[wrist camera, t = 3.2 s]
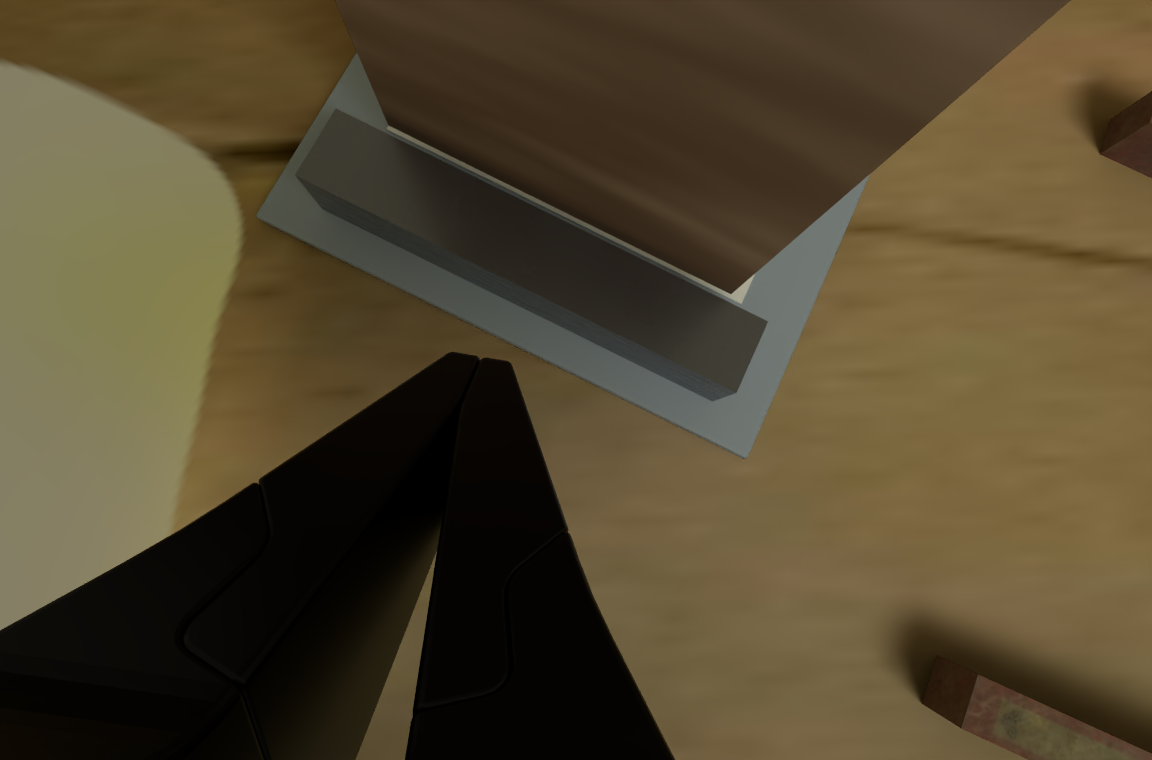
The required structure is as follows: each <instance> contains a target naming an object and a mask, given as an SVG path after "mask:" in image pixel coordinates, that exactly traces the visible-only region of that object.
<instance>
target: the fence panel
mask: <svg viewBox="0 0 1152 760" xmlns="http://www.w3.org/2000/svg"><path fill="white" fill-rule="evenodd" d="M1069 1H1070V0H335V2H336V4H337V7H338V9H339V11H340V14H341V16H342V18H343V21H344V23H345V25H346V28H347V30H348V32H349V35H350V37H351V39H352V42H353V44H354V46H355V49H356V51H357V53H358V56H359V58H360V61H361V63H362V65H363V68H364V70H365V72H366V75H367V77H368V79H369V82H370V84H371V86H372V89H373V91H374V93H375V96H376V98H377V100H378V103H379V105H380V107H381V110H382V112H383V114H384V117H385V119H386V121H387V124H388V126H391V127H393V128H395V129H397V130H399V131H401V132H403V133H405V134H407V135H409V136H411V137H413V138H415V139H417V140H419V141H421V142H423V143H425V144H427V145H429V146H431V147H433V148H435V149H437V150H439V151H441V152H443V153H445V154H447V155H449V156H451V157H453V158H455V159H457V160H459V161H462V162H464V163H466V164H468V165H470V166H472V167H474V168H476V169H478V170H480V171H482V172H484V173H486V174H488V175H490V176H492V177H494V178H496V179H498V180H500V181H502V182H504V183H506V184H508V185H510V186H512V187H514V188H516V189H518V190H520V191H522V192H524V193H526V194H528V195H530V196H533V197H535V198H537V199H539V200H541V201H543V202H545V203H547V204H549V205H551V206H553V207H555V208H557V209H559V210H561V211H563V212H565V213H567V214H569V215H571V216H573V217H575V218H577V219H579V220H581V221H583V222H585V223H587V224H589V225H591V226H593V227H595V228H597V229H599V230H601V231H603V232H606V233H608V234H610V235H612V236H614V237H616V238H618V239H620V240H622V241H624V242H626V243H628V244H630V245H632V246H634V247H636V248H638V249H640V250H642V251H644V252H646V253H648V254H650V255H652V256H654V257H656V258H658V259H660V260H662V261H664V262H666V263H668V264H670V265H672V266H674V267H677V268H679V269H681V270H683V271H685V272H687V273H689V274H691V275H693V276H695V277H697V278H699V279H701V280H703V281H705V282H707V283H709V284H711V285H713V286H715V287H717V288H719V289H721V290H723V291H725V292H727V293H729V294H732V293H733V292H734V291H736V290H737V289H738V288H739V287H740V286H741V285H742V284H744V283H745V282H746V281H747V280H748V279H749V278H751V277H752V276H753V275H754V274H755V273H756V272H757V271H759V270H760V269H761V268H762V267H763V266H764V265H766V264H767V263H768V262H769V261H770V260H771V259H772V258H774V257H775V256H776V255H777V254H778V253H779V252H781V251H782V250H783V249H784V248H785V247H786V246H787V245H789V244H790V243H791V242H792V241H793V240H794V239H796V238H797V237H798V236H799V235H800V234H801V233H802V232H804V231H805V230H806V229H807V228H808V227H809V226H811V225H812V224H813V223H814V222H815V221H816V220H817V219H819V218H820V217H821V216H822V215H823V214H824V213H826V212H827V211H828V210H829V209H830V208H831V207H832V206H834V205H835V204H836V203H837V202H838V201H839V200H841V199H842V198H843V197H844V196H845V195H846V194H847V193H849V192H850V191H851V190H852V189H853V188H854V187H856V186H857V185H858V184H859V183H860V182H861V181H862V180H864V179H865V178H866V177H867V176H868V175H869V174H871V173H872V172H873V171H874V170H875V169H876V168H877V167H879V166H880V165H881V164H882V163H883V162H884V161H886V160H887V159H888V158H889V157H890V156H891V155H892V154H894V153H895V152H896V151H897V150H898V149H899V148H901V147H902V146H903V145H904V144H905V143H906V142H907V141H909V140H910V139H911V138H912V137H913V136H914V135H916V134H917V133H918V132H919V131H920V130H921V129H922V128H924V127H925V126H926V125H927V124H928V123H929V122H931V121H932V120H933V119H934V118H935V117H936V116H937V115H939V114H940V113H941V112H942V111H943V110H944V109H946V108H947V107H948V106H949V105H950V104H951V103H952V102H954V101H955V100H956V99H957V98H958V97H959V96H961V95H962V94H963V93H964V92H965V91H966V90H967V89H969V88H970V87H971V86H972V85H973V84H974V83H976V82H977V81H978V80H979V79H980V78H981V77H982V76H984V75H985V74H986V73H987V72H988V71H989V70H991V69H992V68H993V67H994V66H995V65H996V64H997V63H999V62H1000V61H1001V60H1002V59H1003V58H1004V57H1006V56H1007V55H1008V54H1009V53H1010V52H1011V51H1012V50H1014V49H1015V48H1016V47H1017V46H1018V45H1019V44H1021V43H1022V42H1023V41H1024V40H1025V39H1026V38H1027V37H1029V36H1030V35H1031V34H1032V33H1033V32H1034V31H1036V30H1037V29H1038V28H1039V27H1040V26H1041V25H1043V24H1044V23H1045V22H1046V21H1047V20H1048V19H1049V18H1051V17H1052V16H1053V15H1054V14H1055V13H1056V12H1058V11H1059V10H1060V9H1061V8H1062V7H1063V6H1064V5H1066V4H1067V3H1068V2H1069Z"/></svg>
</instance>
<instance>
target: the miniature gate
mask: <svg viewBox="0 0 1152 760" xmlns="http://www.w3.org/2000/svg"><path fill="white" fill-rule="evenodd" d="M1100 154H1101V155H1103V156H1105V157H1107V158H1109V159H1111V160H1114V161H1116V162H1118V163H1120V164H1122V165H1125V166H1127V167H1129V168H1131V169H1133V170H1135V171H1138V172H1140V173H1142V174H1144V175H1146V176H1148V177H1151V178H1152V91H1151V92H1150V93H1149V94H1147V95H1146V96H1144V97H1143V98H1141V99H1140V100H1138V101H1137V102H1135V103H1134V104H1132V105H1131V106H1129V107H1128V108H1127V109H1125V110H1124V111H1122V112H1121V113H1119V114H1118V115H1116V116H1115V117H1113V118H1112V119H1111V121H1110V124H1109V127H1108V130H1107V133H1106V136H1105V139H1104V143H1103V146H1102V149H1101V152H1100ZM922 704H923V705H925V706H927V707H928V708H930V709H931V710H933V711H935V712H936V713H938V714H939V715H941V716H943V717H944V718H946V719H947V720H949V721H951V722H952V723H954V724H955V725H957V726H959V727H960V728H962V729H964V730H966V731H968V732H970V733H973V734H975V735H977V736H979V737H981V738H983V739H986V740H988V741H990V742H992V743H994V744H996V745H998V746H1001V747H1003V748H1005V749H1007V750H1009V751H1011V752H1014V753H1016V754H1018V755H1020V756H1022V757H1024V758H1027V759H1029V760H1152V753H1150V752H1148V751H1146V750H1144V749H1141V748H1139V747H1137V746H1135V745H1133V744H1130V743H1128V742H1126V741H1124V740H1122V739H1119V738H1117V737H1115V736H1113V735H1111V734H1109V733H1106V732H1104V731H1102V730H1100V729H1098V728H1095V727H1093V726H1091V725H1089V724H1087V723H1084V722H1082V721H1080V720H1078V719H1076V718H1073V717H1071V716H1069V715H1067V714H1065V713H1062V712H1060V711H1058V710H1056V709H1054V708H1051V707H1049V706H1047V705H1045V704H1043V703H1041V702H1038V701H1036V700H1034V699H1032V698H1030V697H1027V696H1025V695H1023V694H1021V693H1019V692H1016V691H1014V690H1012V689H1010V688H1008V687H1005V686H1003V685H1001V684H999V683H997V682H994V681H992V680H990V679H988V678H986V677H983V676H981V675H979V674H977V673H975V672H972V671H970V670H968V669H966V668H964V667H962V666H959V665H957V664H955V663H953V662H951V661H948V660H946V659H944V658H942V657H940V656H937V658H936V661H935V664H934V667H933V670H932V673H931V677H930V680H929V683H928V686H927V689H926V692H925V695H924V698H923V701H922Z"/></svg>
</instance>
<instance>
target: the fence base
mask: <svg viewBox="0 0 1152 760" xmlns="http://www.w3.org/2000/svg"><path fill="white" fill-rule="evenodd" d="M295 176H296V177H297V178H298V180H299V181H300V182H301V183H302V185H303V186H304V187H305V188H306V190H307V191H308V192H309V193H310V194H311V196H312V197H313V198H314V199H315V201H316V202H317V203H318V204H319V205H320V207H321V208H322V209H323V210H325V211H327V212H329V213H331V214H333V215H335V216H337V217H339V218H341V219H343V220H345V221H347V222H349V223H351V224H353V225H355V226H357V227H359V228H361V229H363V230H365V231H367V232H369V233H371V234H373V235H375V236H377V237H379V238H381V239H383V240H385V241H388V242H390V243H392V244H394V245H396V246H398V247H400V248H402V249H404V250H406V251H408V252H410V253H412V254H414V255H416V256H418V257H420V258H422V259H424V260H426V261H428V262H430V263H432V264H434V265H436V266H438V267H440V268H442V269H444V270H446V271H448V272H450V273H452V274H454V275H456V276H459V277H461V278H463V279H465V280H467V281H469V282H471V283H473V284H475V285H477V286H479V287H481V288H483V289H485V290H487V291H489V292H491V293H493V294H495V295H497V296H499V297H501V298H503V299H505V300H507V301H509V302H511V303H513V304H515V305H517V306H519V307H521V308H523V309H525V310H528V311H530V312H532V313H534V314H536V315H538V316H540V317H542V318H544V319H546V320H548V321H550V322H552V323H554V324H556V325H558V326H560V327H562V328H564V329H566V330H568V331H570V332H572V333H574V334H576V335H578V336H580V337H582V338H584V339H586V340H588V341H590V342H592V343H594V344H596V345H599V346H601V347H603V348H605V349H607V350H609V351H611V352H613V353H615V354H617V355H619V356H621V357H623V358H625V359H627V360H629V361H631V362H633V363H635V364H637V365H639V366H641V367H643V368H645V369H647V370H649V371H651V372H653V373H655V374H657V375H659V376H661V377H663V378H665V379H667V380H670V381H672V382H674V383H676V384H678V385H680V386H682V387H684V388H686V389H688V390H690V391H692V392H694V393H696V394H698V395H700V396H702V397H704V398H706V399H708V400H710V401H712V402H713V401H716V400H719V399H721V398H724V397H727V396H730V395H732V394H735V393H737V391H738V389H739V386H740V384H741V382H742V380H743V377H744V375H745V373H746V371H747V368H748V366H749V364H750V362H751V359H752V357H753V355H754V353H755V350H756V348H757V346H758V344H759V341H760V339H761V337H762V335H763V332H764V330H765V328H766V326H767V323H768V321H766V320H764V319H762V318H760V317H758V316H756V315H754V314H752V313H750V312H748V311H746V310H744V309H742V308H740V307H738V306H736V305H734V304H732V303H730V302H728V301H726V300H724V299H722V298H720V297H718V296H716V295H714V294H712V293H709V292H707V291H705V290H703V289H701V288H699V287H697V286H695V285H693V284H691V283H689V282H687V281H685V280H683V279H681V278H679V277H677V276H675V275H673V274H671V273H669V272H667V271H665V270H663V269H661V268H659V267H657V266H655V265H653V264H651V263H649V262H647V261H645V260H643V259H641V258H638V257H636V256H634V255H632V254H630V253H628V252H626V251H624V250H622V249H620V248H618V247H616V246H614V245H612V244H610V243H608V242H606V241H604V240H602V239H600V238H598V237H596V236H594V235H592V234H590V233H588V232H586V231H584V230H582V229H580V228H578V227H576V226H574V225H572V224H570V223H568V222H565V221H563V220H561V219H559V218H557V217H555V216H553V215H551V214H549V213H547V212H545V211H543V210H541V209H539V208H537V207H535V206H533V205H531V204H529V203H527V202H525V201H523V200H521V199H519V198H517V197H515V196H513V195H511V194H509V193H507V192H505V191H503V190H501V189H499V188H497V187H494V186H492V185H490V184H488V183H486V182H484V181H482V180H480V179H478V178H476V177H474V176H472V175H470V174H468V173H466V172H464V171H462V170H460V169H458V168H456V167H454V166H452V165H450V164H448V163H446V162H444V161H442V160H440V159H438V158H436V157H434V156H432V155H430V154H428V153H426V152H423V151H421V150H419V149H417V148H415V147H413V146H411V145H409V144H407V143H405V142H403V141H401V140H399V139H397V138H395V137H393V136H391V135H389V134H387V133H385V132H383V131H381V130H379V129H377V128H375V127H373V126H371V125H369V124H367V123H365V122H363V121H361V120H359V119H357V118H355V117H352V116H350V115H348V114H346V113H344V112H342V111H340V110H338V109H335V110H334V112H333V114H332V115H331V117H330V119H329V120H328V122H327V123H326V125H325V127H324V128H323V130H322V132H321V133H320V135H319V136H318V138H317V140H316V141H315V143H314V145H313V146H312V148H311V149H310V151H309V153H308V154H307V156H306V158H305V159H304V161H303V163H302V164H301V166H300V167H299V169H298V171H297V172H296V174H295Z"/></svg>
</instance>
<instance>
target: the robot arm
mask: <svg viewBox="0 0 1152 760" xmlns="http://www.w3.org/2000/svg"><path fill="white" fill-rule="evenodd" d="M436 551H437V555H436V561H435V568H434V575H433V581H432V588H431V594H430V601H429V607H428V614H427V621H426V627H425V634H424V640H423V647H422V653H421V660H420V667H419V673H418V680H417V686H416V693H415V699H414V706H413V718H412V721H411V726H410V732H409V738H408V744H407V750H406V756H405V760H675V758H674V756H673V755H672V753H671V751H670V749H669V747H668V745H667V743H666V741H665V739H664V737H663V735H662V733H661V731H660V729H659V727H658V726H657V724H656V722H655V720H654V718H653V716H652V714H651V712H650V710H649V708H648V706H647V704H646V702H645V700H644V698H643V696H642V694H641V692H640V690H639V688H638V686H637V684H636V682H635V680H634V678H633V676H632V675H631V673H630V671H629V669H628V667H627V665H626V663H625V661H624V659H623V657H622V655H621V653H620V651H619V649H618V647H617V645H616V643H615V641H614V639H613V637H612V635H611V633H610V631H609V629H608V626H607V624H606V622H605V620H604V618H603V616H602V614H601V612H600V609H599V607H598V605H597V603H596V601H595V599H594V597H593V594H592V592H591V589H590V586H589V584H588V581H587V579H586V576H585V574H584V571H583V568H582V566H581V563H580V561H579V558H578V555H577V552H576V549H575V546H574V543H573V540H572V538H571V535H570V534H569V533H568V527H567V524H566V521H565V518H564V515H563V512H562V509H561V507H560V504H559V501H558V498H557V495H556V492H555V489H554V486H553V483H552V480H551V477H550V474H549V472H548V469H547V466H546V463H545V460H544V457H543V454H542V451H541V448H540V445H539V442H538V439H537V437H536V434H535V431H534V428H533V425H532V422H531V419H530V416H529V413H528V410H527V407H526V405H525V402H524V399H523V396H522V393H521V390H520V387H519V384H518V381H517V378H516V375H515V372H514V370H513V367H512V365H511V363H510V362H508V361H503V360H497V359H491V358H483V359H481V360H479V358H478V357H477V356H474V355H468V354H462V353H456V352H450V353H448V354H446V355H445V356H443V357H442V358H440V359H439V360H437V361H436V362H434V363H433V364H431V365H430V366H428V367H427V368H425V369H424V370H422V371H421V372H419V373H418V374H416V375H415V376H413V377H412V378H410V379H409V380H407V381H406V382H404V383H402V384H401V385H399V386H398V387H396V388H395V389H393V390H392V391H390V392H389V393H387V394H386V395H384V396H383V397H381V398H380V399H378V400H377V401H375V402H374V403H372V404H371V405H369V406H368V407H366V408H365V409H363V410H362V411H360V412H359V413H357V414H356V415H354V416H353V417H351V418H350V419H348V420H347V421H345V422H344V423H342V424H341V425H339V426H338V427H336V428H335V429H333V430H332V431H330V432H329V433H327V434H326V435H324V436H323V437H321V438H320V439H318V440H317V441H315V442H314V443H312V444H311V445H309V446H308V447H306V448H305V449H303V450H302V451H300V452H299V453H297V454H296V455H294V456H293V457H291V458H290V459H288V460H287V461H285V462H284V463H282V464H281V465H279V466H278V467H276V468H275V469H273V470H272V471H270V472H269V473H267V474H266V475H264V476H263V477H261V478H260V479H259V484H257V483H252V484H250V485H249V486H247V487H246V488H244V489H243V490H241V491H240V492H238V493H237V494H235V495H234V496H232V497H231V498H229V499H228V500H226V501H225V502H223V503H222V504H220V505H219V506H217V507H215V508H214V509H212V510H211V511H209V512H207V513H206V514H204V515H203V516H201V517H200V518H198V519H196V520H195V521H193V522H192V523H190V524H189V525H187V526H185V527H184V528H182V529H181V530H179V531H177V532H176V533H174V534H172V535H170V536H169V537H167V538H165V539H163V540H162V541H160V542H158V543H156V544H155V545H153V546H151V547H149V548H148V549H146V550H144V551H143V552H141V553H139V554H137V555H136V556H134V557H132V558H130V559H129V560H127V561H125V562H124V563H122V564H120V565H118V566H116V567H114V568H113V569H111V570H109V571H107V572H105V573H104V574H102V575H100V576H98V577H96V578H94V579H93V580H91V581H89V582H87V583H85V584H84V585H82V586H80V587H78V588H76V589H74V590H73V591H71V592H69V593H67V594H66V595H64V596H62V597H60V598H58V599H56V600H55V601H53V602H51V603H49V604H47V605H46V606H44V607H42V608H40V609H38V610H36V611H35V612H33V613H31V614H29V615H27V616H26V617H24V618H22V619H20V620H18V621H16V622H15V623H13V624H11V625H9V626H7V627H6V628H4V629H2V630H0V760H355V759H356V757H357V754H358V752H359V749H360V747H361V744H362V741H363V739H364V736H365V734H366V731H367V729H368V726H369V723H370V721H371V718H372V716H373V713H374V711H375V708H376V705H377V703H378V700H379V698H380V695H381V693H382V690H383V687H384V685H385V682H386V680H387V677H388V675H389V672H390V669H391V667H392V664H393V662H394V659H395V657H396V654H397V651H398V649H399V646H400V644H401V641H402V639H403V636H404V633H405V631H406V628H407V626H408V623H409V621H410V618H411V615H412V613H413V610H414V608H415V605H416V603H417V600H418V597H419V595H420V592H421V590H422V587H423V585H424V582H425V579H426V577H427V574H428V572H429V569H430V567H431V564H432V561H433V559H434V556H435V554H436Z"/></svg>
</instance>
